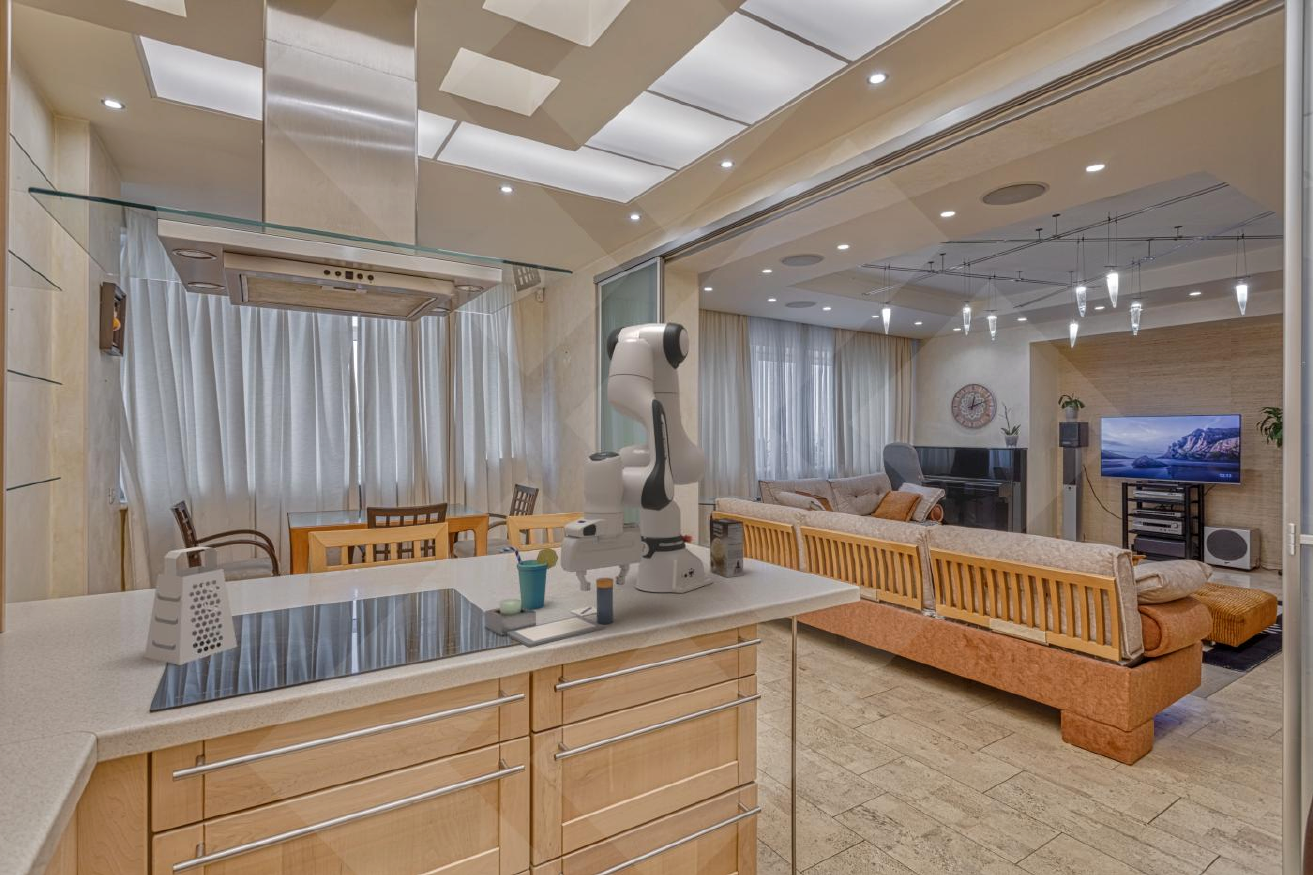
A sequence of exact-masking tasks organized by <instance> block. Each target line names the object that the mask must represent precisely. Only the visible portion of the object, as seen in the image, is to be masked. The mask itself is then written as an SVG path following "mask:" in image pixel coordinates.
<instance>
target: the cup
mask: <svg viewBox="0 0 1313 875" xmlns="http://www.w3.org/2000/svg"><path fill="white" fill-rule="evenodd" d="M498 550H499V553H500V554H503V553H506V552H511V551H513V552H514V554H515V557H516V559H517V561H518V562H517V563H516V569H517V570H518V571H517V572H518V581H519V583H518V584H519V591H520V592H519V593H520V601H521V606H523V607H526V608H528V609H530V610H537V609H541V608H543V607H544V605H545V595H546V594H545V593H546V580H547V572H548V570H549V569H551V568H553V567H555V566H556V564H557V562H558V560H559V557H558V554H557V552H556V550H555V549H552V548H551V547H546V548H544V549H541V550H540V551H539V552H538V555H537V557H536V559H527V560H523V559H522V558H521V555H520V553H519V550H518V548H516V547H514V546H508V547H505V548H502V549H498Z"/></svg>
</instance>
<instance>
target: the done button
mask: <svg viewBox="0 0 1313 875" xmlns="http://www.w3.org/2000/svg"><path fill="white" fill-rule="evenodd" d="M521 606H522V603H521V599H517V598H510V599H504V600H503V599H502V600H501V601H500V602H499V608H500V614H501V615H503V616H509V615H514V614H519V613H521Z"/></svg>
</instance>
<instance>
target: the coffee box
mask: <svg viewBox="0 0 1313 875" xmlns="http://www.w3.org/2000/svg"><path fill="white" fill-rule="evenodd" d="M709 554H710V555H709V565H710V566H709V569H710V570H709V571H710V573H712V574H716V575H719V576H721V577H724V578H734V577H740V576H744V521H741V520H736V519H732V518H727V517H723V518H722V517H721V518H713V519H709Z"/></svg>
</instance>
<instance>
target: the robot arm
mask: <svg viewBox="0 0 1313 875" xmlns="http://www.w3.org/2000/svg"><path fill="white" fill-rule="evenodd" d="M689 340H690V339H689V335H688V331H687V330H686V328H685V327H684V326H683V325H682V324H681V323H677V322H667V323H665V322H664V323H657V322H654V323H644V324H637V325H631V326H627V327H626V326H620V327H617V328H615V329H613V330H612V331H611V332H610V333H609V335H608V337H607V339H606V346H605V347H606V352H607V354H606V355H607V357H608V359H609V361H610V366H609V372H608V379H607V386H606V387H607V388H606V392H607V400H608V403H609V404H610V407H612V409H613V410H614V411H615V412H616V413H618V414H619V415H621V416H622V417H625V418H627V419H630V420H631V421H634V422H636V423H639V424H641V425H642V426H643V427H644V428H645V430H646V434H647V443H648V444H634V445H633V444H632V445H629V446H624V447H621V449H620V450H619V451H618V452H615V451H614V452H613V451H603V452H596V453H593V454H590V455H588V457H587V460H586V463H585V468H584V477H583V480H584V481H583V494H584V498H585V504H584V508H583V516H582V517H579V518H578V519H575V520H573V521H571V522H569V523H567V524H565V525H564V526H563V534H564V535H566V536H565V537H564V538H563V539H562V542H561V547H560V548H561V549H560V566H561V569H563V571H565V572H567V573H568V572H569V573H575V576H576V577H577V579H578V581H579V583H580V590H581V592H582V591H583V592H586V591H591V588H592V587H591V582H590V581H588V580H587V578H586V576H587V574H588V572H587V571H588V570H591V571H592V570H596V569H597V570H598V569H605V568H606V569H607V568H611V567H612V568H613V567H618V568H619V569H620V571H619V573H618V575H617V576H616V575H615V584H616V585H618V586H623V585H626V577H627V574H628V573H629V571H630V567H631V566H630V565H632V564H638V570H637V575H636V581H635V583H634V587H635V588H636V589H638V590H640V591H644V592H651V593H679V594H684V593H688V592H690V591H692V590H696V589H699V588H701V587H705V586H707V585H710V584H713V582H714V579H713V578H712V577H710V576H708V575H705V566H704V563H703V561H702V559H700V558H699V557H698V556H697V555H695V554H694V553H693V552H692V551H691V550H689V549H688V548H687V546H686V544H685V543H688V544H691V543H692V542H693V536H691V535H687V534H685V535H682V534H681V528H682V527H681V522H682V521H681V508H680V506H679V504H678V503H677V502H676V501H674V497H675V486H676V485H677V486H681V485H689V484H694V483H699V482H700V481H701V480H702V479H703V478H704V476H705V474H706V471H707V466H708V464H707V457H706V455H705V453H704V451H703V450H702V449H701V448H700V447H699V446H697V445H696V444H695V443H693V441H692V440H691V438H689V436H688V435H687V433H686V431H685V429H684V427H683V423H682V415H681V405H680V404H681V403H680V402H681V396H680V395H681V394H680V377H679V373H678V368H679V367H680V364H682V363H683V362H684V361H685V360H686V358H687V357H688V353H689V347H690V341H689ZM624 508H627V509H628V508H629V509H638V511H639V523H640V525H639V524H637V523H636V522H627V523H626V522H624Z"/></svg>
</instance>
